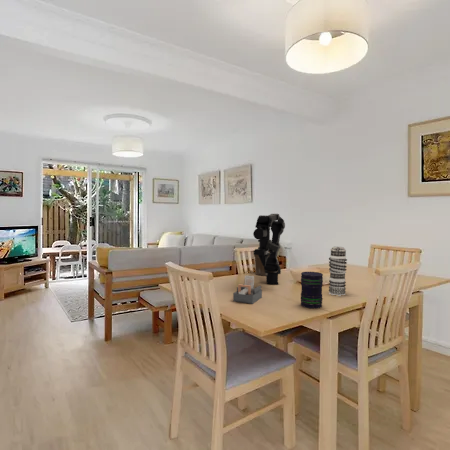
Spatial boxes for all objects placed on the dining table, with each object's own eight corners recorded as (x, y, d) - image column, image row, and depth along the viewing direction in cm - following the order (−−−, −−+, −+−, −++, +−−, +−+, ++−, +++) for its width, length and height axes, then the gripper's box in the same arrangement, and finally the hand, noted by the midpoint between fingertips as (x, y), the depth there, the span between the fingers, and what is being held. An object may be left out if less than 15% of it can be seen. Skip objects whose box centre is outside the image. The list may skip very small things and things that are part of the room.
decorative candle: (334, 296, 169) (335, 248, 168) (324, 292, 178) (325, 246, 177) (350, 295, 171) (351, 247, 170) (339, 291, 180) (340, 246, 179)
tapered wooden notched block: (245, 289, 166) (245, 275, 165) (253, 290, 164) (254, 276, 163) (237, 293, 157) (237, 279, 156) (246, 294, 155) (246, 280, 154)
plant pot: (249, 272, 232) (249, 249, 232) (270, 271, 237) (270, 249, 237) (258, 277, 217) (258, 252, 216) (280, 275, 222) (280, 252, 221)
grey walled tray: (243, 295, 171) (243, 283, 171) (261, 297, 167) (262, 285, 166) (233, 301, 159) (233, 288, 159) (252, 304, 155) (252, 291, 155)
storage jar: (306, 301, 161) (306, 270, 160) (325, 305, 154) (326, 273, 154) (296, 305, 153) (297, 273, 152) (316, 309, 147) (317, 276, 146)
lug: (239, 292, 161) (239, 284, 160) (250, 293, 158) (251, 285, 158) (238, 292, 159) (238, 284, 159) (250, 294, 157) (250, 286, 157)
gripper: (273, 240, 171) (272, 269, 172) (283, 237, 188) (282, 264, 189) (253, 239, 176) (252, 268, 177) (264, 236, 193) (264, 263, 194)
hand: (264, 265), depth 184 cm, fingers closed
